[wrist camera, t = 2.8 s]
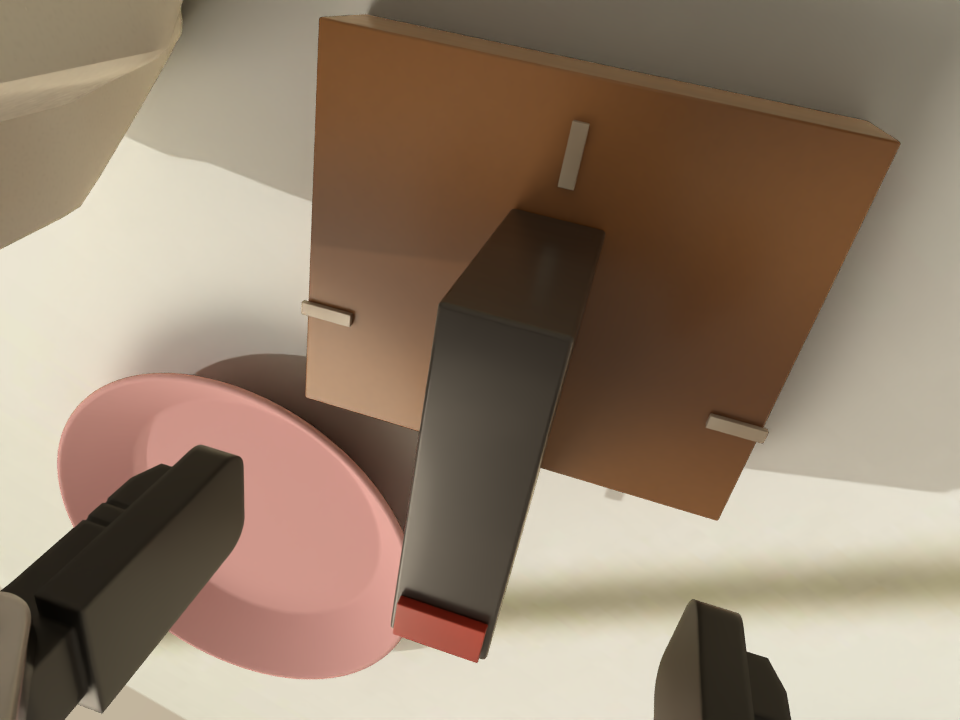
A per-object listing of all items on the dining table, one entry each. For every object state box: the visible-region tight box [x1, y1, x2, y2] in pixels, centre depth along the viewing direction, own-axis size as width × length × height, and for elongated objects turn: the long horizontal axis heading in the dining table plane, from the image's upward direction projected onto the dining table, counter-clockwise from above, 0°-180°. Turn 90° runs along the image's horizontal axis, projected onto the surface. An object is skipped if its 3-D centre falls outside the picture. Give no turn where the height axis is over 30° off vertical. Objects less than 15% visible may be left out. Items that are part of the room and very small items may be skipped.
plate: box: [57, 373, 404, 679], centre depth 25 cm, size 14×14×2 cm
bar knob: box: [391, 209, 605, 663], centre depth 14 cm, size 8×2×6 cm, turn 170°
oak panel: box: [301, 14, 900, 520], centre depth 18 cm, size 13×12×3 cm
